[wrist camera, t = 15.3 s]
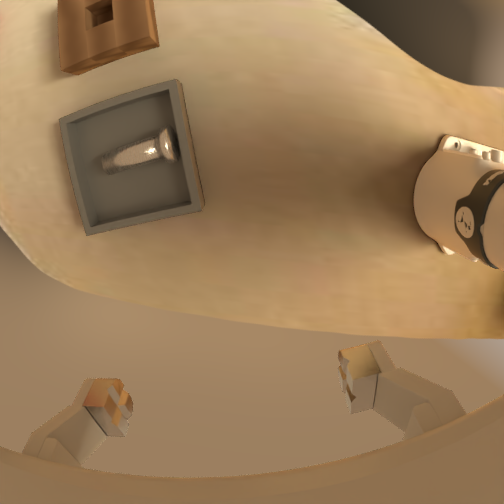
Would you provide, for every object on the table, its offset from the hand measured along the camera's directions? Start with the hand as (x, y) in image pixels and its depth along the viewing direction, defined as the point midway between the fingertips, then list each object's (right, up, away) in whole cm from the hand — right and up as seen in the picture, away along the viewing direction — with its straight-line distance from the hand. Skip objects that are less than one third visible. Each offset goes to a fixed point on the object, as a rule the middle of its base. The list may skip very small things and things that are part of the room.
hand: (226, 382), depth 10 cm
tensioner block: (-18, +35, +19) cm, 44 cm away
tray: (-14, +17, +26) cm, 34 cm away
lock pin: (-17, +16, +24) cm, 33 cm away
